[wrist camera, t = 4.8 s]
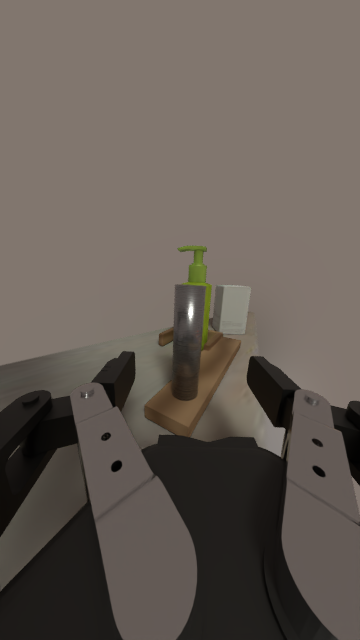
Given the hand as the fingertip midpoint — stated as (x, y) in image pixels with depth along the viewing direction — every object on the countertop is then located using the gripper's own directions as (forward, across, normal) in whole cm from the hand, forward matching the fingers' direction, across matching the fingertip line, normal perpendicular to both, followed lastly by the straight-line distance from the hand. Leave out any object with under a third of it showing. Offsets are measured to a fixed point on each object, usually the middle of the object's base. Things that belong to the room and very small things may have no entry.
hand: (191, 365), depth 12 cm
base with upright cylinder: (+16, 0, +8) cm, 18 cm away
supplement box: (+35, -13, +9) cm, 39 cm away
